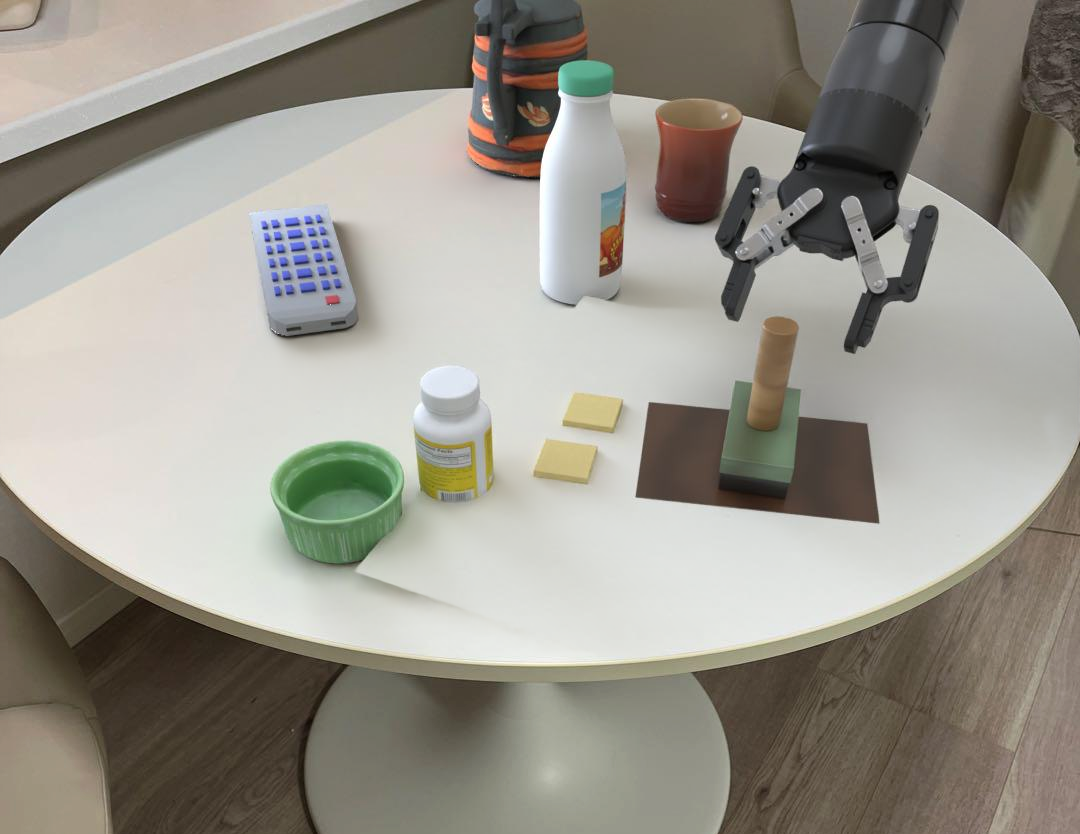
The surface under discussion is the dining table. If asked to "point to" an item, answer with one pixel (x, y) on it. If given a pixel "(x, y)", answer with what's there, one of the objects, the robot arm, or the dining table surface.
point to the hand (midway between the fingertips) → (789, 333)
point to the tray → (815, 490)
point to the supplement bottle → (453, 436)
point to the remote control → (302, 271)
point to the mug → (694, 157)
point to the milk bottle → (582, 190)
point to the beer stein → (520, 79)
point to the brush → (764, 419)
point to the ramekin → (338, 499)
